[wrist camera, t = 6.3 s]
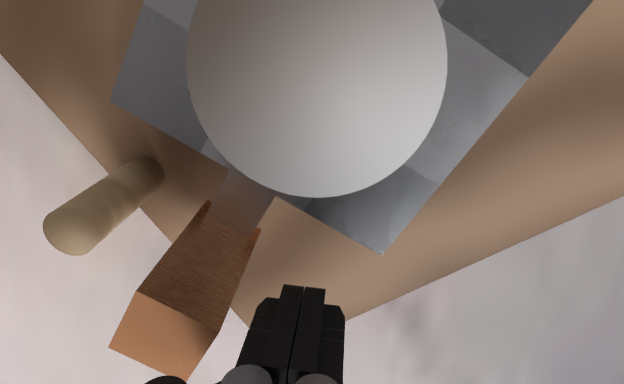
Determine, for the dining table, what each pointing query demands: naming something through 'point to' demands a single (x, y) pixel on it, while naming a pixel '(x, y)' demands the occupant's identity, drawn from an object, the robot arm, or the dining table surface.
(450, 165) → the knobbed grey plate
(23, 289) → the dining table surface
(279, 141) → the post base
